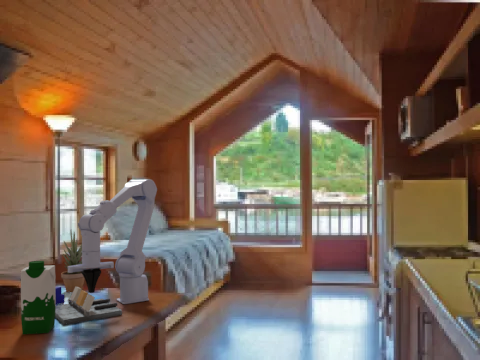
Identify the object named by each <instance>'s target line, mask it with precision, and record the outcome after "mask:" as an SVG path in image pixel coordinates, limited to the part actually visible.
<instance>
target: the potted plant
mask: <svg viewBox="0 0 480 360" xmlns="http://www.w3.org/2000/svg"><path fill="white" fill-rule="evenodd" d="M63 243H64V246H65V248H66V250H67V251H66V250H65V249H63V251H64V253H62V255H63V258H64V259H65V261H64V264H65V265H64V267H65V268H66V270H67V271H63V272H61V273H60V278H61V279H62V281H63V283H64V288H65V291H66V293H73V291H74V289H75V286H76V287H79V288H81V289H82V290H83V288H84V284H85V278H84V276H83V274H82V272H81V271H79V272H73V273H69V272H68V266H73V265H79V264H82V244H81V245H80V247H79V248H78V239H76V232H75V231H73V233H72V230H70V245H71V246H70V247H69V246H68V244H67V243H66V240H63Z"/></svg>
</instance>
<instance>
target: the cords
mask: <svg viewBox="0 0 480 360" xmlns="http://www.w3.org/2000/svg"><path fill="white" fill-rule="evenodd" d="M105 302H109V303H111V298H107V299H106V298H104V300H98V301H93V303H92V304H98V303H105ZM114 306H116V307H118V303H117V302H113V303H111V304H107V305H100V306H95V307H94V309H102V308H108V307H114Z"/></svg>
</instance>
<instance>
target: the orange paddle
mask: <svg viewBox="0 0 480 360" xmlns="http://www.w3.org/2000/svg"><path fill="white" fill-rule="evenodd" d="M88 294H89V292H87V291H85V290H83V289H82V290H81V292H80V295H79V297H78V299H77V301H76V304H78V305H79V306H83V304H84V302H85V300H86V297H87V295H88Z"/></svg>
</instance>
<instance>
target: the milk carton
mask: <svg viewBox="0 0 480 360" xmlns="http://www.w3.org/2000/svg"><path fill="white" fill-rule="evenodd" d="M55 287H56V265H45V261H44V260H31V261H29V262H28V266H27V267H24V268H23V269H21V270H20V317H21V318H20V320H21V331H22V335H35V334H49V333H50V332H51V330H52V329H53V328H54V327H55V322H56V320H55V319H56V317H55V309H56V294H55Z"/></svg>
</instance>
